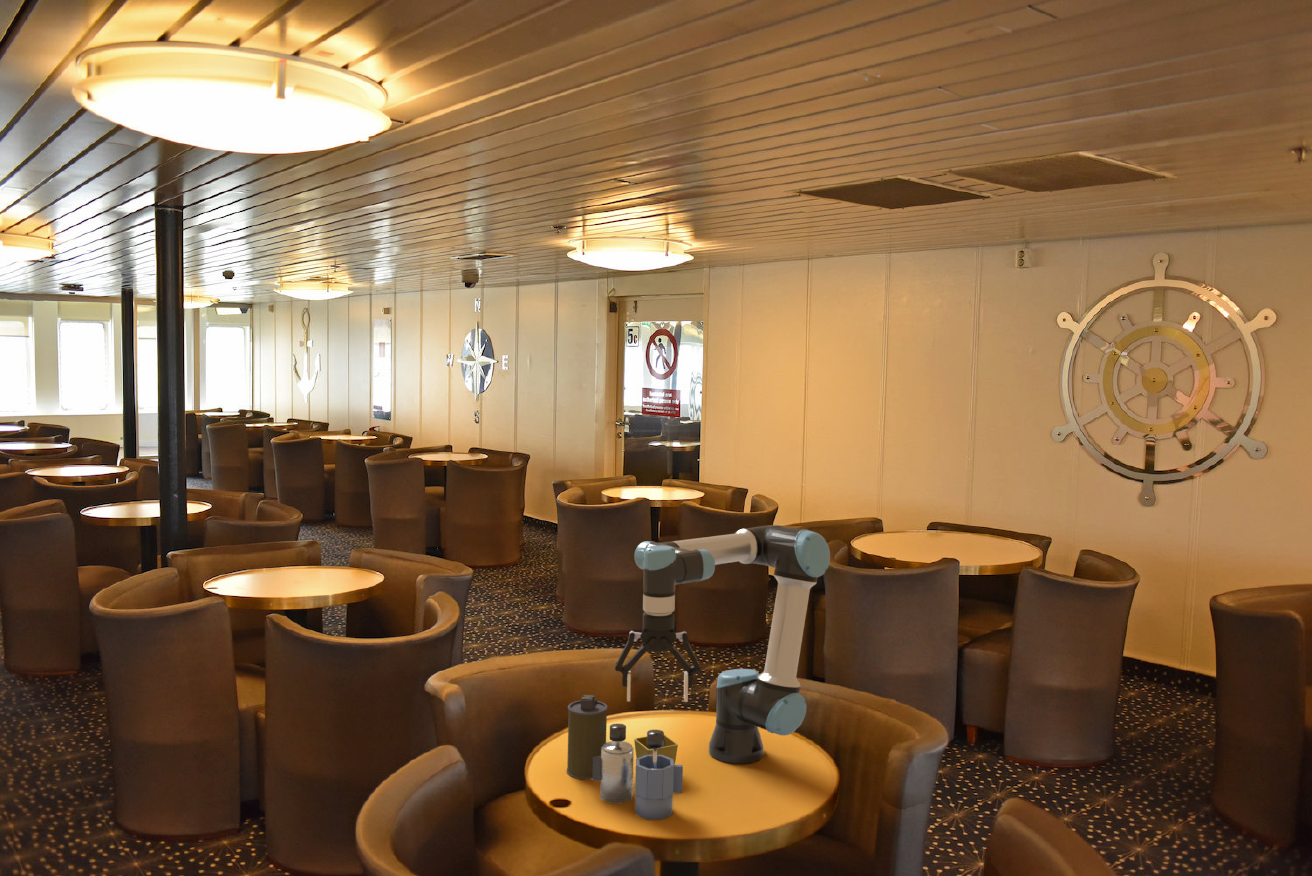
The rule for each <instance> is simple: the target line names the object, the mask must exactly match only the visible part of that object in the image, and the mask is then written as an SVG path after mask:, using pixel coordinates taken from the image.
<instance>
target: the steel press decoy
mask: <svg viewBox="0 0 1312 876" xmlns="http://www.w3.org/2000/svg"><path fill="white" fill-rule="evenodd" d="M626 735H627V725H626V724H623V723H612V724H611V725H609V740H610V741H606V743H605V744H604V745H603V746H602V748H601V756H593V776H592V779H591V780H592V782H600V784H599V785H600V791H599V792H600V793H599V796H600V799H601V800H602V801H604V802H605V803H609V804H624V803H628V802H630V801H631V800H632V799H633V797H634V796H633V795H634V794H633V793H634V792H633V791H634V790H633V789H634V787H633V786H634V751H635V747H634V746H633V745H632V744H631V743H630V742H627V741H625V740H626V739H627V736H626Z"/></svg>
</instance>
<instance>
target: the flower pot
mask: <svg viewBox="0 0 1312 876" xmlns="http://www.w3.org/2000/svg"><path fill="white" fill-rule="evenodd" d="M633 742H634V751H635V757H636V758H635V759H637V758H639V757H642V756H644V755H653V748H650V747H648V746H647V735H646V736H641V737H635V738H634V739H633ZM678 747H679V744H678V743H677V742H676V741H674V740H673V739H671V738H670V737H669V736H667V735H666V734H665V733H664V746H663V747H661V748H657V755H664V756H666V757H669V758H671V759H673V761H674V765H676V762H677V761H676V759H677V754H678Z"/></svg>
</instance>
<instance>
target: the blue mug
mask: <svg viewBox="0 0 1312 876" xmlns="http://www.w3.org/2000/svg"><path fill="white" fill-rule="evenodd" d="M683 773H684V765H683V764H675V765H674V761H673V759H671V758H669V757H666V756H664V755H657V769H653V755H644V756H642V757H639V758H635V776H634V777H635V779H634V781H635V782H634V783H635V786H634V789H635V790H634V792H635V793H634V813H635V814H636V816H638V817H639V818H642V819H644V820H648V821H659V820H660V821H661V820H664V819H667V818H670V816H672V815H673V805H674V804H673V801H674V800H673V799H674V798H673V797H674V794H683V777H684V774H683Z"/></svg>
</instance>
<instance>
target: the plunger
mask: <svg viewBox="0 0 1312 876" xmlns="http://www.w3.org/2000/svg"><path fill="white" fill-rule="evenodd" d="M664 734H665V732H664V731H663V730H661V729H650V730H648V731H646V736H647V746H648V747H650V748H653V769H657V748H661V747H663V746H664Z"/></svg>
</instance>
